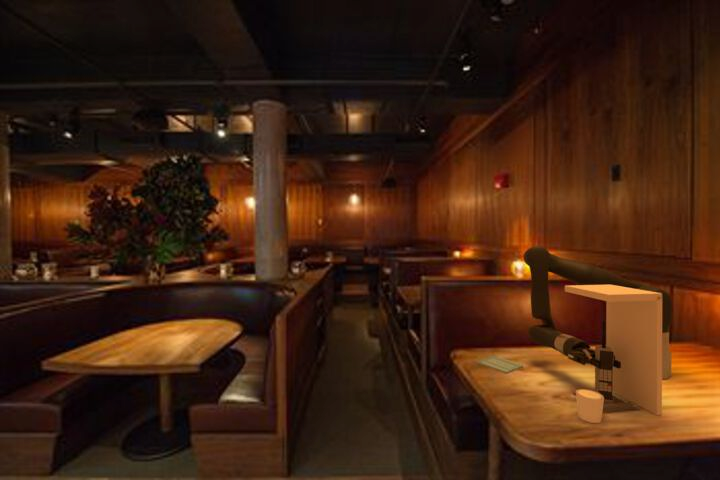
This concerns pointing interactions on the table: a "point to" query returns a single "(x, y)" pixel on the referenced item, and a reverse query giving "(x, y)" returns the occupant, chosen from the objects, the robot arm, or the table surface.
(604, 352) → the vintage mobile phone
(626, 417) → the table surface
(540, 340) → the robot arm
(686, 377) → the table surface
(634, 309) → the overhang shelf
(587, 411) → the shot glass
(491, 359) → the pale green flat pad
